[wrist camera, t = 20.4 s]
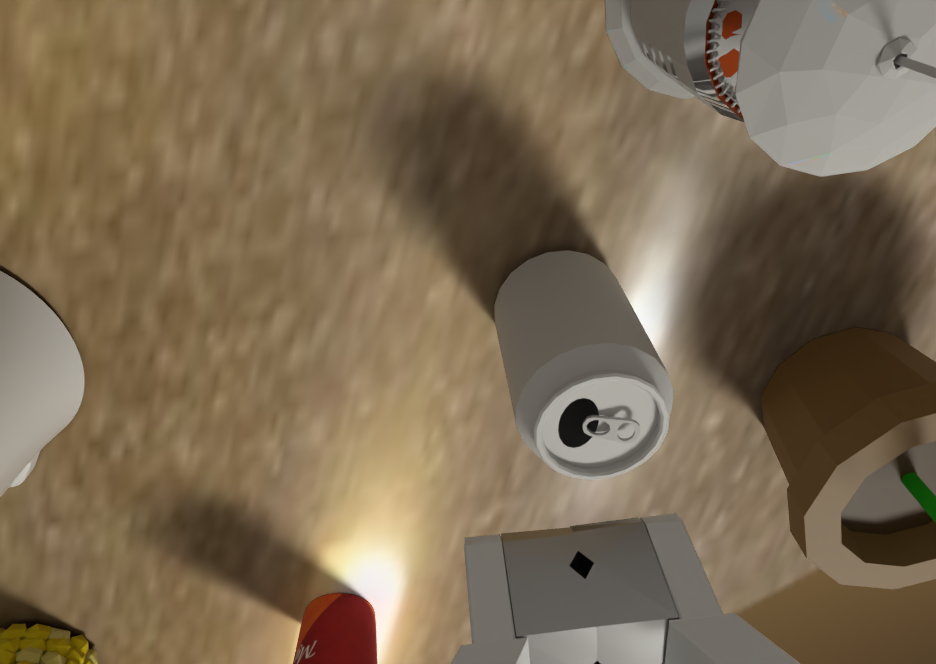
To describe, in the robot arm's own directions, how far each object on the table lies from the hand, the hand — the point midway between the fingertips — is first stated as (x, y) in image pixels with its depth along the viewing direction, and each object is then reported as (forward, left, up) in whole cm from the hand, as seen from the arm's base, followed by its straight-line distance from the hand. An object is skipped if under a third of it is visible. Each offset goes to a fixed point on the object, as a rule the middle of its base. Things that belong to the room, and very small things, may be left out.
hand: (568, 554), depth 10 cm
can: (+5, -13, -29) cm, 33 cm away
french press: (+13, +3, -29) cm, 32 cm away
